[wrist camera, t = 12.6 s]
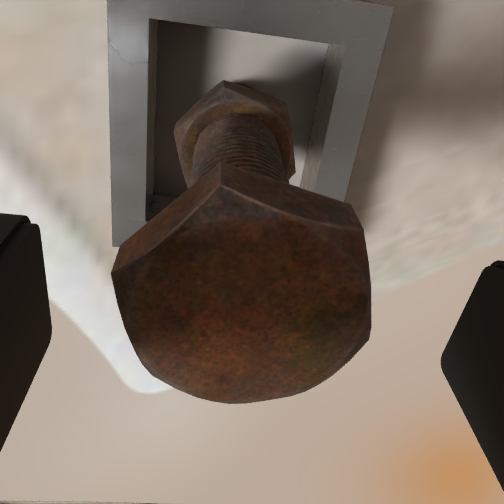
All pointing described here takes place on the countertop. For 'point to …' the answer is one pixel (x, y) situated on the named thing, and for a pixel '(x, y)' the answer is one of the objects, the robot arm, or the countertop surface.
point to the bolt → (244, 263)
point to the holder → (248, 20)
